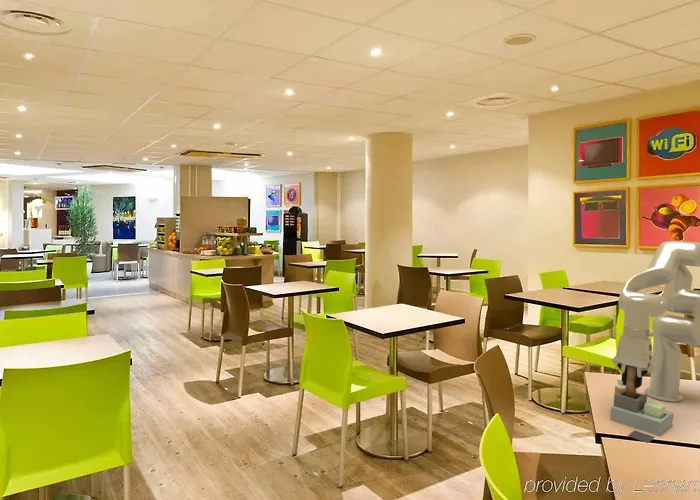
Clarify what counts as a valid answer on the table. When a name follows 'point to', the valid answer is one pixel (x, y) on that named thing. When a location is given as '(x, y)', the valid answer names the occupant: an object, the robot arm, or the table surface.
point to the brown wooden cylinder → (631, 382)
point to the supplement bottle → (619, 385)
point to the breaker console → (638, 414)
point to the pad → (641, 436)
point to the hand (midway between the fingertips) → (631, 385)
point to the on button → (654, 409)
